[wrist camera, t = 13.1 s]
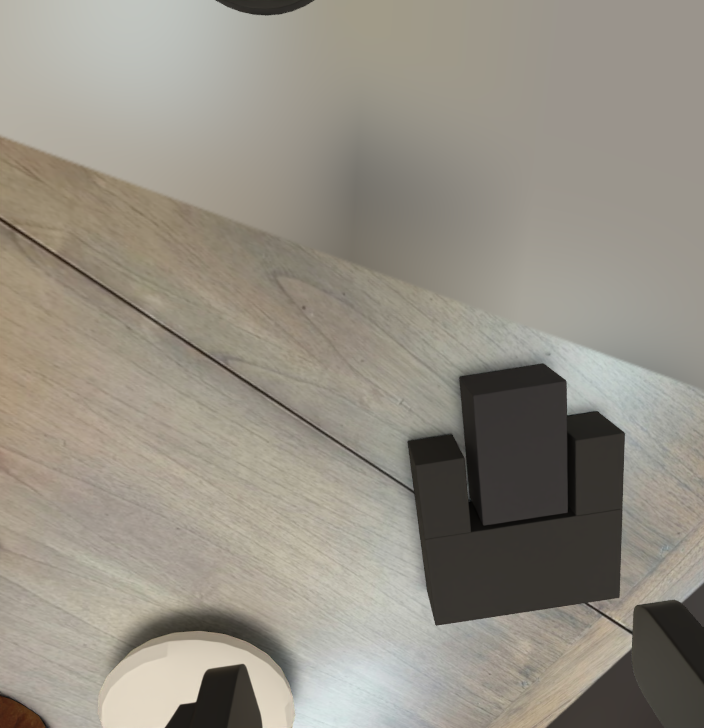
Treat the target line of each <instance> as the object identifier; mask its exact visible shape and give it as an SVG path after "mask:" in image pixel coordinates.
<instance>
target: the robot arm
mask: <svg viewBox="0 0 704 728" xmlns="http://www.w3.org/2000/svg"><path fill="white" fill-rule="evenodd" d="M632 667H633V671H634V674H635V677H636V680H637V683H638V685H639V687H640V689H641V691H642V693H643V695H644V696H645V698H646V700H647V701H648V703H649V704H650V706H651V707H652V709H653V711H654V712H655V714H656V716H657V717H658V719H659V720H660V722H661V723H662V725H663V727H664V728H704V627H702V626H701V624H700V623H699V622H698V621H697V620H696V619H695V618H694V617H693V615H692V614H691V613H690V612H689V611H688V610H687V609H686V607H685V606H684V605H683V604H681V603H680V602H678V601H676V600H668V601H662V602H655V603H649V604H642V605H637V606H636V607H635V608H634V615H633V636H632ZM165 728H263V727H262V718H261V713H260V710H259V706H258V703H257V700H256V697H255V693H254V690H253V687H252V683H251V680H250V677H249V674H248V670H247V668H246V666H245V664H238V665H231V666H224V667H218V668H211V669H207V670H206V672H205V673H204V676H203V679H202V682H201V686H200V689H199V693H198V697H197V700H196V702H194V703H187V704H180V705H179V707H178V708H177V710H176V711H175V713H174V714H173V716H172V717H171V719H170V721H169V722H168V724H167V725H166V727H165Z"/></svg>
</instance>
